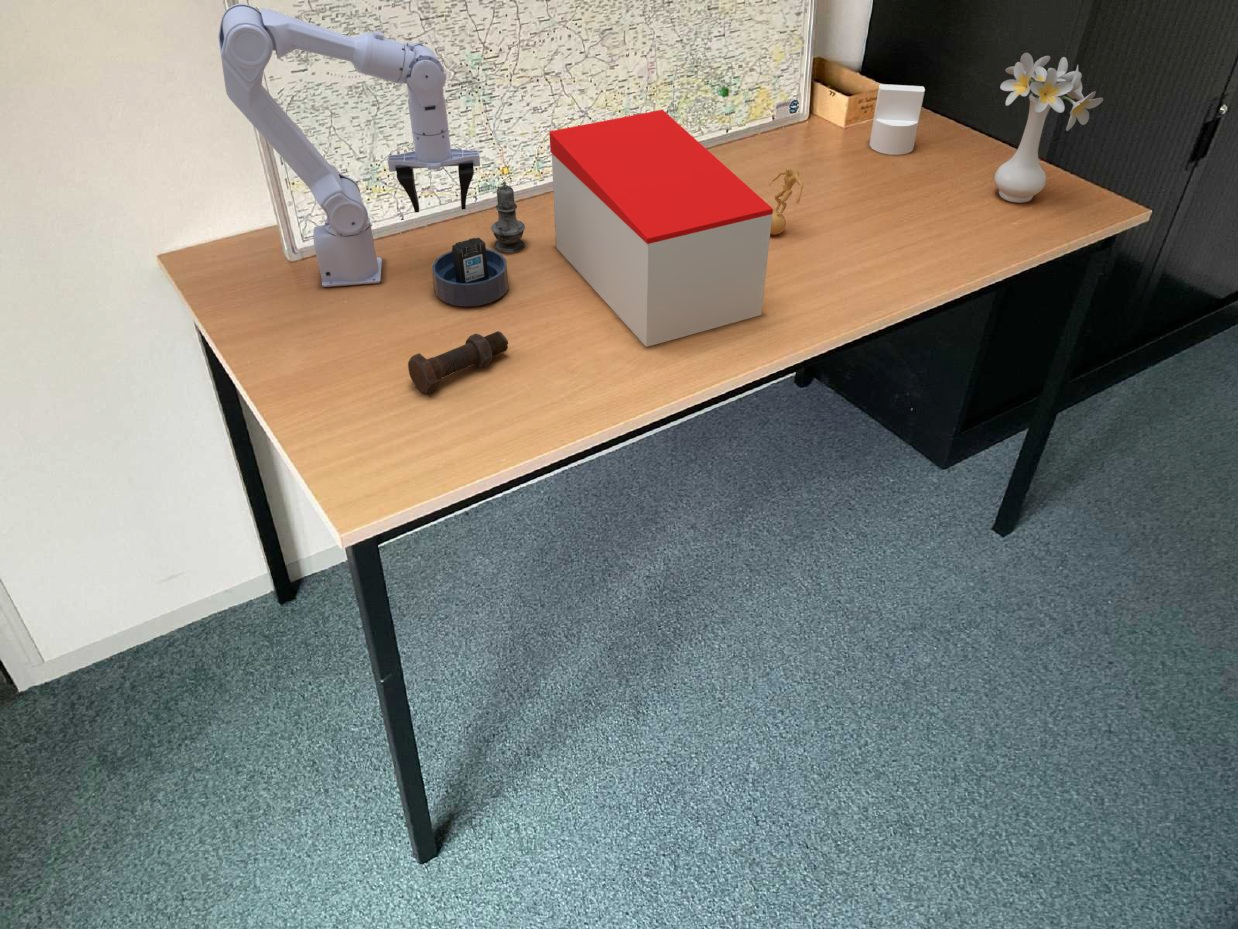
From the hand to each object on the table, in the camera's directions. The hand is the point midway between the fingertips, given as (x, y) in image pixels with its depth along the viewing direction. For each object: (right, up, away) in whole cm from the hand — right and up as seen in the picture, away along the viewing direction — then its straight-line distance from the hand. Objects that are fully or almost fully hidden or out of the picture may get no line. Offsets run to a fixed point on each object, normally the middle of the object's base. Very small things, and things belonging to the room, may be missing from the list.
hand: (440, 208), depth 167 cm
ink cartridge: (+6, -14, -2) cm, 15 cm away
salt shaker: (+10, -4, +10) cm, 15 cm away
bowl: (+5, -14, -2) cm, 15 cm away
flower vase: (+106, +8, +24) cm, 109 cm away
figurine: (+58, -1, +13) cm, 60 cm away
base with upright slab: (+86, +23, +41) cm, 99 cm away
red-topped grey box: (+35, -12, +1) cm, 37 cm away
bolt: (+7, -29, -19) cm, 35 cm away
